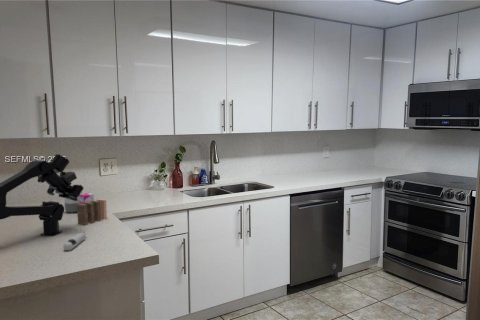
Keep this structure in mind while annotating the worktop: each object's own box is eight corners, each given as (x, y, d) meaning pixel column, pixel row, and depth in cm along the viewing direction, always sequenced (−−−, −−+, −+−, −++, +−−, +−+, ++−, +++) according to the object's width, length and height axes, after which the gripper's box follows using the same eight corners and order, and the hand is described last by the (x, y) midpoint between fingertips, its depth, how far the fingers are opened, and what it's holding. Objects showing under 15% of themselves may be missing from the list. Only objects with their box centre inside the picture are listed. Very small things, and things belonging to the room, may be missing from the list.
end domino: (104, 219, 187) (103, 200, 186) (97, 218, 189) (96, 199, 188) (106, 218, 188) (106, 199, 187) (99, 217, 190) (99, 199, 189)
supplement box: (89, 213, 201) (88, 192, 200) (95, 214, 197) (94, 193, 196) (79, 215, 196) (78, 194, 195) (84, 216, 192) (83, 195, 191)
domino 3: (98, 221, 183) (97, 201, 182) (91, 220, 185) (90, 201, 184) (100, 220, 185) (99, 201, 184) (93, 219, 187) (92, 200, 186)
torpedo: (73, 252, 140) (72, 235, 139) (60, 252, 140) (59, 235, 139) (90, 237, 158) (89, 222, 157) (79, 237, 157) (78, 223, 157)
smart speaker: (77, 209, 210) (76, 185, 209) (86, 211, 205) (85, 186, 204) (61, 212, 203) (60, 187, 201) (70, 214, 197) (69, 189, 196)
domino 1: (85, 225, 176) (84, 205, 175) (78, 224, 178) (77, 204, 177) (87, 224, 177) (87, 204, 177) (80, 223, 180) (79, 203, 179)
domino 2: (91, 223, 180) (91, 203, 179) (84, 222, 182) (83, 202, 181) (94, 222, 181) (93, 202, 180) (87, 221, 183) (86, 201, 182)
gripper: (79, 167, 163) (99, 188, 174) (51, 165, 172) (72, 185, 183) (64, 187, 157) (86, 207, 168) (36, 184, 165) (59, 203, 176)
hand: (76, 200), depth 174 cm, fingers closed
